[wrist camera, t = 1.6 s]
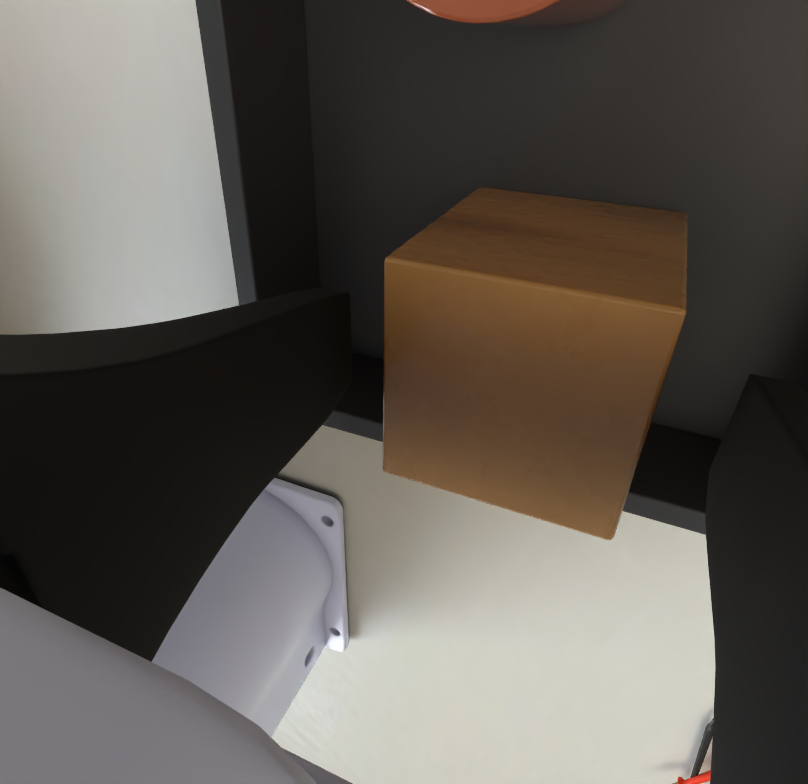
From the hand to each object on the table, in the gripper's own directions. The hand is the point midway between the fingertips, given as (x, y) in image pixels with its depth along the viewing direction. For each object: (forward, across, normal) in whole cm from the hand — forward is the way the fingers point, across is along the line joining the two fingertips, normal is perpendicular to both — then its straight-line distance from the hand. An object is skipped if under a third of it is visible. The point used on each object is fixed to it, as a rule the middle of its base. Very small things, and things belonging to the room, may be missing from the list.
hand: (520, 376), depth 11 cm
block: (+4, 0, 0) cm, 4 cm away
